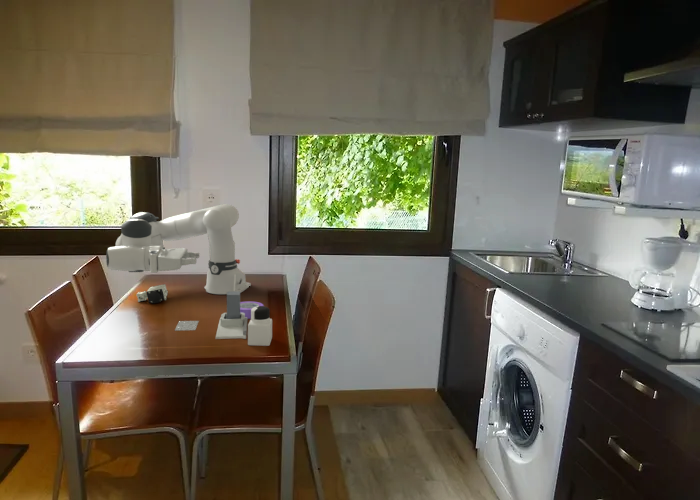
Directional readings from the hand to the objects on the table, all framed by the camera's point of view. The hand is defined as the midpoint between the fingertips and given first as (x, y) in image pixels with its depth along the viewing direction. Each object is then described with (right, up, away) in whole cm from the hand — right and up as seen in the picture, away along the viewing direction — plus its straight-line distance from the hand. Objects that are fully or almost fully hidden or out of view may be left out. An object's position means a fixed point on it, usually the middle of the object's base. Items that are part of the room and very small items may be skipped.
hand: (197, 258), depth 174 cm
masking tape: (+13, -23, +21) cm, 34 cm away
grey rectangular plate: (-5, -25, +4) cm, 25 cm away
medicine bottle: (+23, -28, -8) cm, 37 cm away
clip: (+11, -23, +7) cm, 27 cm away
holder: (+11, -25, +3) cm, 28 cm away
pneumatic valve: (-35, -17, +31) cm, 50 cm away
